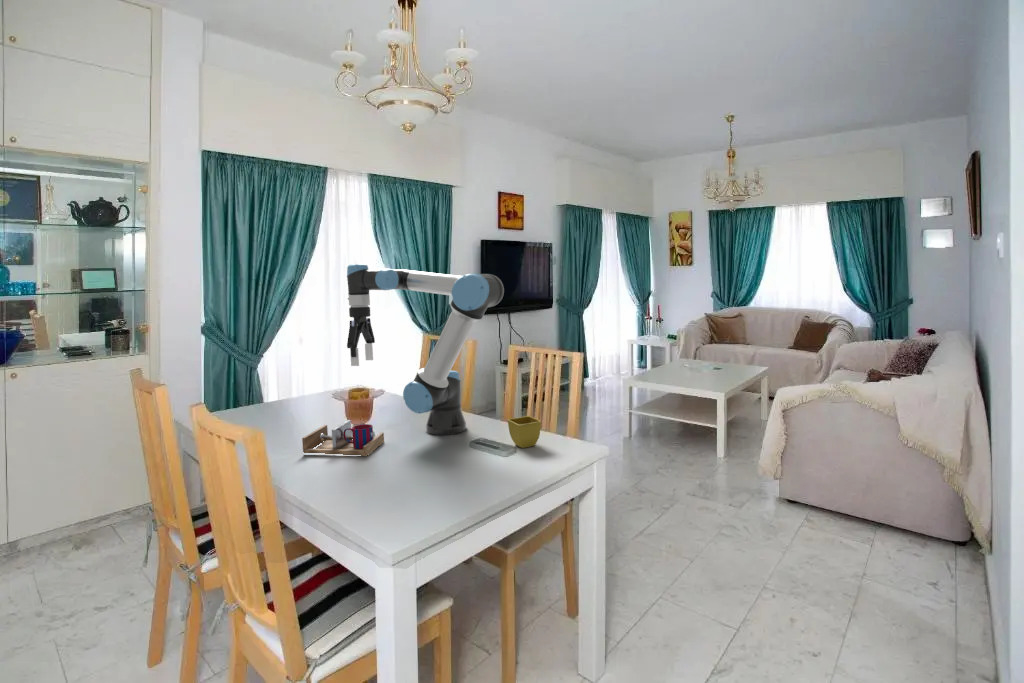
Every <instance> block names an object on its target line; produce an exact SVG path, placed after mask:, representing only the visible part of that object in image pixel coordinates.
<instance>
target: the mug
mask: <svg viewBox="0 0 1024 683" xmlns="http://www.w3.org/2000/svg"><path fill="white" fill-rule="evenodd" d="M346 430H351V433H352V436H353V441H350V440H348V439H347V438H346V435H345V432H346ZM343 436H344V439H345V440H346V441H347V442H349V443H352V444H353V447H354V448H356V449H363V446H365V445H366V444H367V443H368V442H370V441H371V440H372V439H373V437H374V428H373V425H372V424H368V423H367V424H365V423H361V424H356V425H354V426H351V428H347V429H345V430H344V433H343Z"/></svg>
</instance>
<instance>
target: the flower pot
mask: <svg viewBox="0 0 1024 683" xmlns="http://www.w3.org/2000/svg"><path fill="white" fill-rule="evenodd" d="M507 426H508V430H509V435H510V438H511V441H513V444H514V445H515V446H518V447H519V448H520V449H526V448H529V447H534V446H536V444H537V443H538V440H539V439H540V436H541V435H540V434H541V426H542V420H540V419H537V418H534V417H532V416H530V415H526V416H520V417H514V418H510V419H507Z"/></svg>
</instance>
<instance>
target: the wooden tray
mask: <svg viewBox="0 0 1024 683" xmlns="http://www.w3.org/2000/svg"><path fill="white" fill-rule="evenodd" d="M321 433H323V434H324V436H329V435H328V433H329V432H328V424H324V425H322V426H321V427H318V428H317V429H314V431H312V432H310V433H308V434H306V435H305V436H303V437H302V440H301V441H302V442H301V443H302V453H303V452H304V453H325V454H343V455H361V456H367V455H368V454H370V453H371V452H372V451H373V450H374V451H376V450H375V449H376V448H377V447H378V446H379V447H380V446H382V445H383V444H384V443H385V435H384V434H385V433H384V432H380V433H378V434H377V435H376V436H373V439H372V440H371V441H370V442H368V443H367V444H366V445H365V446H363V449H356V448H354V447H353V444H352V443H349V442H348V443H347V444H345V445H344V446H343V447H341V448H340V449H333V444H332V439H324V440H323V441H324V442H323V441H321V440H320V434H321ZM352 439H353V435H352ZM351 441H353V440H351ZM383 442H384V443H383ZM320 443H322V445H320V446H318V447H317V448H316V449H313V448H314V447H316V446H317V445H319V444H320ZM382 443H383V444H382ZM379 447H378V448H379ZM378 448H377V449H378ZM374 451H373V452H374ZM373 452H372V453H373ZM372 453H371V454H372ZM371 454H370V455H371ZM368 456H369V455H368ZM368 456H367V457H368Z"/></svg>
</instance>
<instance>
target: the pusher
mask: <svg viewBox="0 0 1024 683" xmlns="http://www.w3.org/2000/svg"><path fill="white" fill-rule="evenodd" d="M351 421H352V420H351V419H347V420H345V421H344V422H342V423H340V424H338V425H337V426H335V427H333V428H332V429H331V435H328V436H324V434H323V433H321V434H320V440H321V441H323V440H324V439H332V444H333V449H340V448H341V447H343V446H344V445H345V444H347V443H348V442H347V441H346V440H345V439H344V436H343V433H344V430H345V429H347V428H352V422H351ZM345 435H346V438H347V439H348V440H350V441H351V440H352V436H353V434H352V431H351V430H346V432H345Z"/></svg>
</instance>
